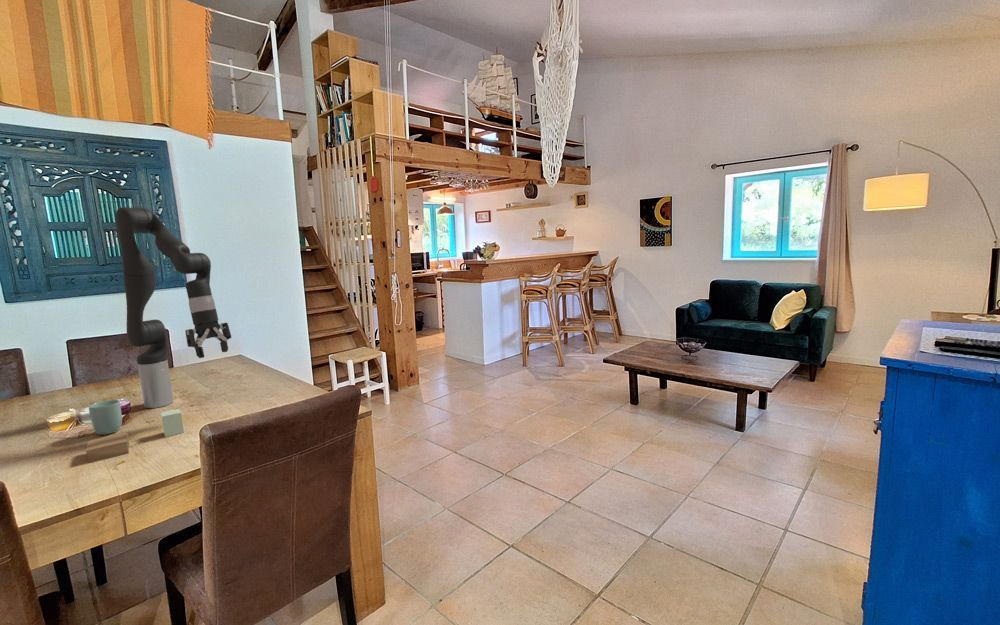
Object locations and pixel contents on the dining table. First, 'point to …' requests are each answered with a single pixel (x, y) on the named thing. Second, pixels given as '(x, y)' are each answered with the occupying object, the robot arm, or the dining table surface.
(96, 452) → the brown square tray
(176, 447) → the dining table surface
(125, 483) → the dining table surface
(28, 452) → the dining table surface
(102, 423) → the cup
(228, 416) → the dining table surface
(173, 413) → the green block
